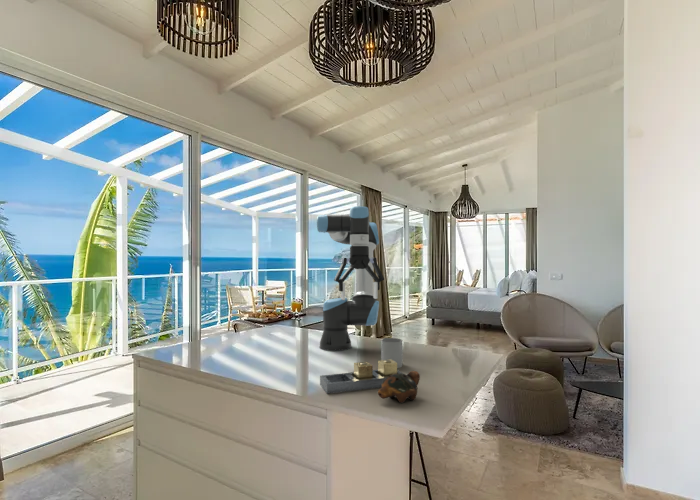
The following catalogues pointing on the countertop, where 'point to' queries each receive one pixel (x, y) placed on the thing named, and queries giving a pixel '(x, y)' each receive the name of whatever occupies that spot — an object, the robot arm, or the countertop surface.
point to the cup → (392, 350)
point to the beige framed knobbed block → (387, 368)
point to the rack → (350, 382)
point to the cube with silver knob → (363, 370)
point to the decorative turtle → (400, 386)
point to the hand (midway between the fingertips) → (359, 299)
